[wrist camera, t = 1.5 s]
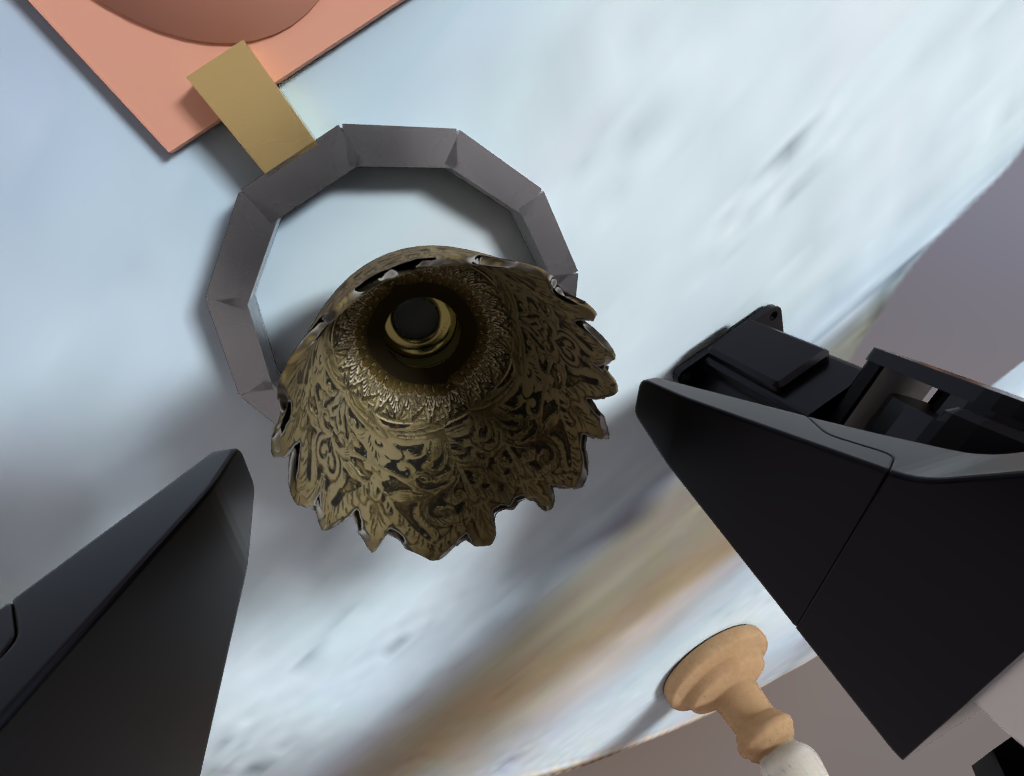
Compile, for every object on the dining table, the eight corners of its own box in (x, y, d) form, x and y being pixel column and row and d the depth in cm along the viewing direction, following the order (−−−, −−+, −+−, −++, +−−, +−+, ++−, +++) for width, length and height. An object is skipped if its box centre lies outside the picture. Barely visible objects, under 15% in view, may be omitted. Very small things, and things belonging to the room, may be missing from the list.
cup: (365, 431, 17) (379, 606, 10) (257, 258, 13) (165, 364, 6) (528, 360, 18) (635, 478, 11) (476, 179, 14) (597, 199, 7)
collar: (615, 380, 20) (629, 392, 19) (414, 520, 20) (418, 538, 19) (419, -59, 11) (426, -82, 10) (30, 197, 10) (-3, 200, 9)
